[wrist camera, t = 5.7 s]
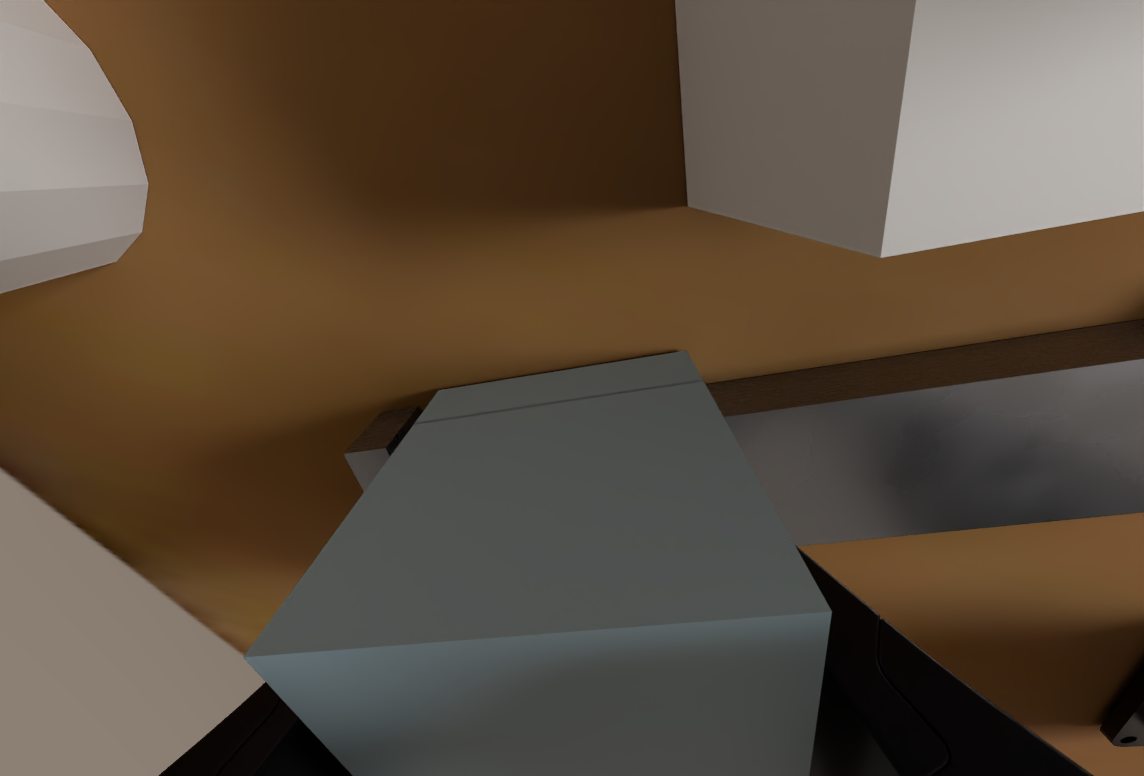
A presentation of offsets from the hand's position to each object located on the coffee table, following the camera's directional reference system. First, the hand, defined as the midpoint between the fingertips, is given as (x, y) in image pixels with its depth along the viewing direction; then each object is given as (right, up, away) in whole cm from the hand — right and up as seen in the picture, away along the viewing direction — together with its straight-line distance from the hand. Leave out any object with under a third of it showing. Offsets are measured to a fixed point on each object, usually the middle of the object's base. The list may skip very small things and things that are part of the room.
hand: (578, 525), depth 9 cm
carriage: (0, +1, +2) cm, 2 cm away
